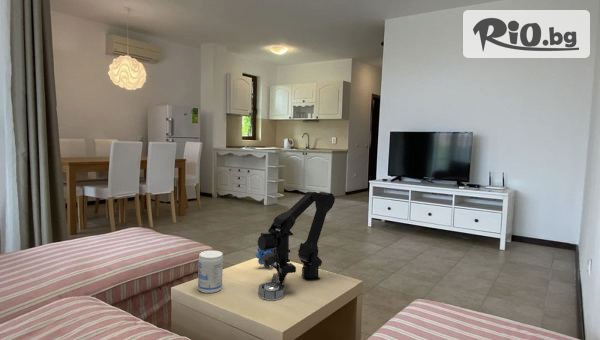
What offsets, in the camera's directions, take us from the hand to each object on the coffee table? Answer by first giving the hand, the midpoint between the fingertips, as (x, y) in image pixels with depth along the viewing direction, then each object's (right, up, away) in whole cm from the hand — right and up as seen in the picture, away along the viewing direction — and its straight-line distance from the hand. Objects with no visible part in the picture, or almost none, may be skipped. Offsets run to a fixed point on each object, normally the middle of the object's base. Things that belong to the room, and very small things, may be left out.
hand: (281, 283), depth 157 cm
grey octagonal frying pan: (-3, -1, -5) cm, 6 cm away
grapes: (-7, +1, +21) cm, 23 cm away
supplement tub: (-29, -1, -5) cm, 29 cm away
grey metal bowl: (-3, -2, -9) cm, 10 cm away
